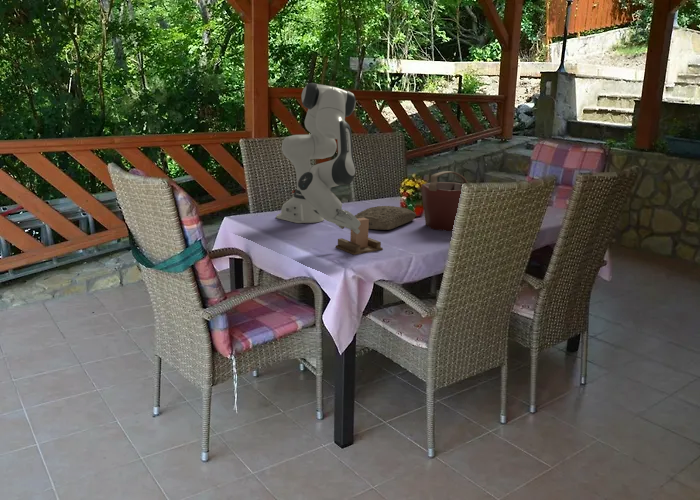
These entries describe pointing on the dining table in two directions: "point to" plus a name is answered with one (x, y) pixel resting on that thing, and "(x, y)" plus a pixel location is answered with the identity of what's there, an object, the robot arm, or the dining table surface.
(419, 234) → the dining table surface
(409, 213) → the stone tablet
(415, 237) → the dining table surface
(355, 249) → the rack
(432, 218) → the bucket
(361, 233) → the clay block
